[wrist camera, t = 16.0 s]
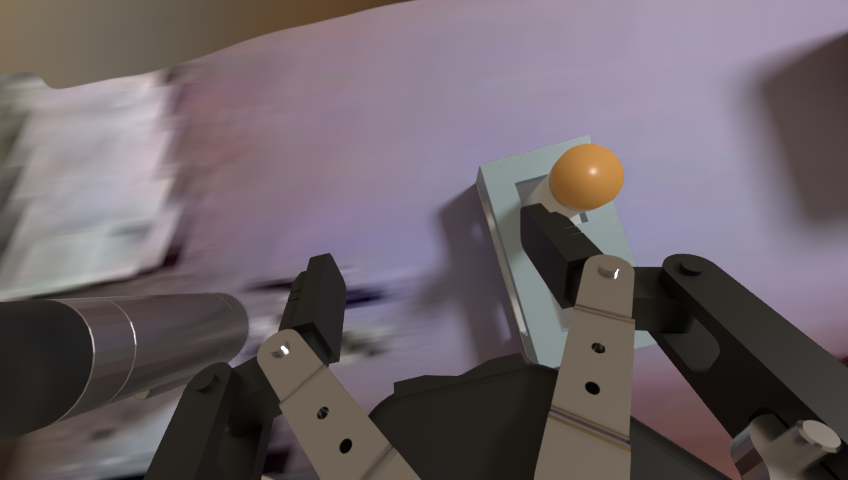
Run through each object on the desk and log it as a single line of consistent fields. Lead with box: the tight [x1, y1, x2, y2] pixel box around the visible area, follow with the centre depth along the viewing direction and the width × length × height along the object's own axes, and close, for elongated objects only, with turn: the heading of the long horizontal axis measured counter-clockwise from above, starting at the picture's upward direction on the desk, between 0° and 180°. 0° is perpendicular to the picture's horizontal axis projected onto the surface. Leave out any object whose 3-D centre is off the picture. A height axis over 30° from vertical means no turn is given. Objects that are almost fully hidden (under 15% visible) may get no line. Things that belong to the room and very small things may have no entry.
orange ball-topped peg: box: [521, 144, 624, 219], centre depth 30 cm, size 5×5×14 cm
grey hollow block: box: [476, 135, 656, 368], centre depth 34 cm, size 22×12×6 cm, turn 14°
